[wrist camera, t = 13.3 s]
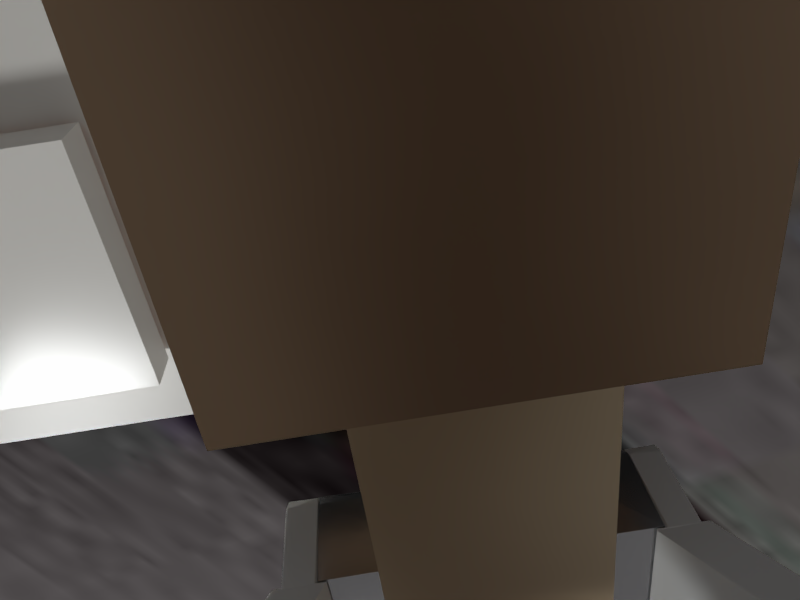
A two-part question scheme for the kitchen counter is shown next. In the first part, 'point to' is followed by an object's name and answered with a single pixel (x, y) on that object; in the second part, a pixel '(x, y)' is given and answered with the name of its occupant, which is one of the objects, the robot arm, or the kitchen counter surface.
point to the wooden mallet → (449, 241)
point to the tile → (66, 278)
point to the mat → (57, 104)
